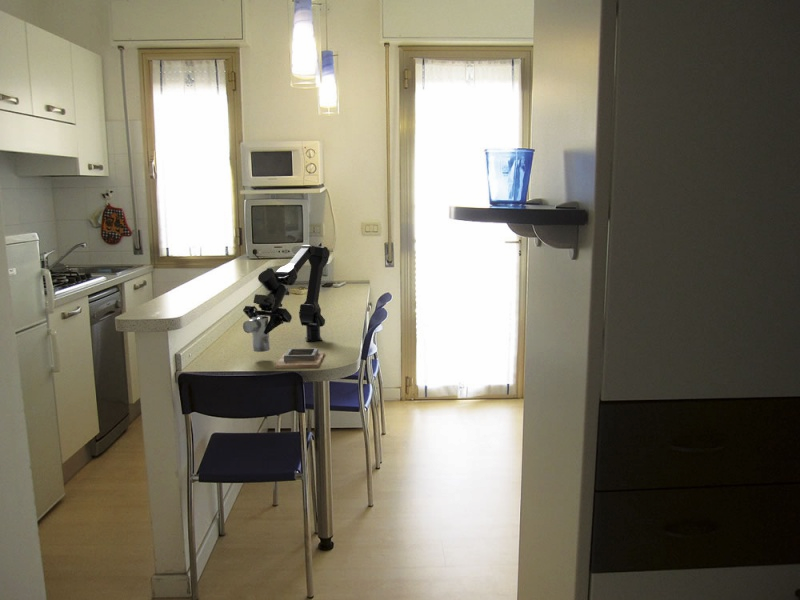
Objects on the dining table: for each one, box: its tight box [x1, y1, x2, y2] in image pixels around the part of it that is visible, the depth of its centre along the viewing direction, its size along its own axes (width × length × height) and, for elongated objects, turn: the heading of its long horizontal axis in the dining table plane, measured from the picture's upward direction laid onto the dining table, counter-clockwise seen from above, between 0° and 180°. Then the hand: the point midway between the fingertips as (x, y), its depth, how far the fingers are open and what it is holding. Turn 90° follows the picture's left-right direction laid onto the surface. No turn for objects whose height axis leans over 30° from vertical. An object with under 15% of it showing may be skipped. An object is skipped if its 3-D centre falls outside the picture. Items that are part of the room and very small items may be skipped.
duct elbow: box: [242, 315, 271, 353], centre depth 233 cm, size 10×6×12 cm, turn 154°
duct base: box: [275, 347, 325, 369], centre depth 233 cm, size 18×15×3 cm
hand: (258, 333), depth 233 cm, fingers closed on duct elbow, 6 cm apart
